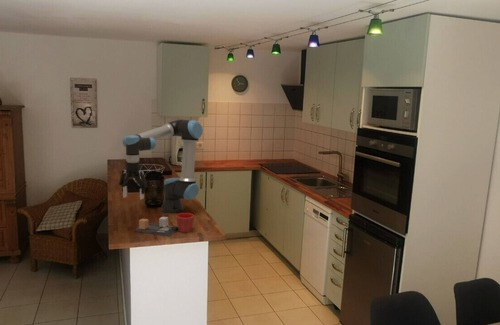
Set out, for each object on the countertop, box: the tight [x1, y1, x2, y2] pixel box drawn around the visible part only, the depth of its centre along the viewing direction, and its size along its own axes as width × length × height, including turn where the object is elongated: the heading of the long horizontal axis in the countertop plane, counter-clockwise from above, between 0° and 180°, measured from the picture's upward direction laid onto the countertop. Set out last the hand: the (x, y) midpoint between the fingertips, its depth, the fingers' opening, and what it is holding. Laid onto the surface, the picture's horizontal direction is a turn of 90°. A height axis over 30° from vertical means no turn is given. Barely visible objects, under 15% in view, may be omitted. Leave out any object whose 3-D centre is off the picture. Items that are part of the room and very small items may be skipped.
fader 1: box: [138, 218, 149, 229], centre depth 252 cm, size 4×4×5 cm
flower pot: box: [175, 212, 195, 233], centre depth 255 cm, size 11×11×10 cm
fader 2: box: [158, 216, 169, 227], centre depth 256 cm, size 4×4×5 cm
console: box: [135, 222, 179, 237], centre depth 254 cm, size 12×22×2 cm, turn 72°
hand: (133, 198), depth 251 cm, fingers open, 11 cm apart
